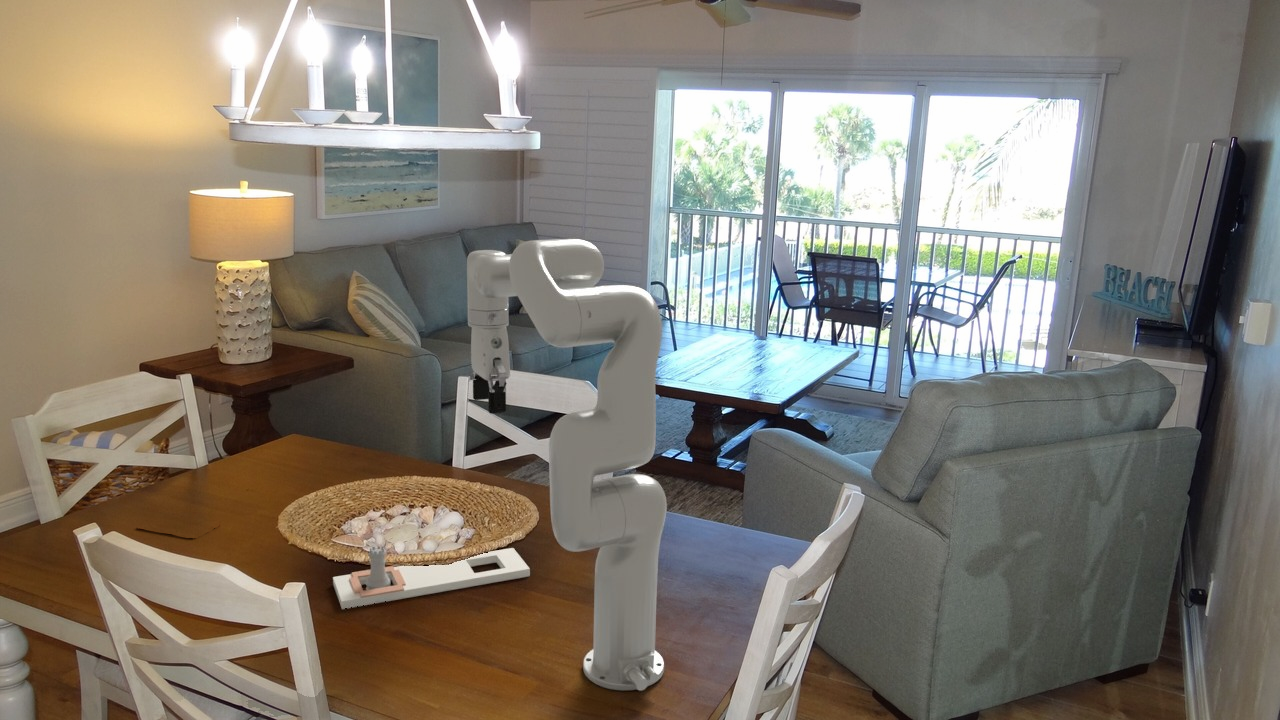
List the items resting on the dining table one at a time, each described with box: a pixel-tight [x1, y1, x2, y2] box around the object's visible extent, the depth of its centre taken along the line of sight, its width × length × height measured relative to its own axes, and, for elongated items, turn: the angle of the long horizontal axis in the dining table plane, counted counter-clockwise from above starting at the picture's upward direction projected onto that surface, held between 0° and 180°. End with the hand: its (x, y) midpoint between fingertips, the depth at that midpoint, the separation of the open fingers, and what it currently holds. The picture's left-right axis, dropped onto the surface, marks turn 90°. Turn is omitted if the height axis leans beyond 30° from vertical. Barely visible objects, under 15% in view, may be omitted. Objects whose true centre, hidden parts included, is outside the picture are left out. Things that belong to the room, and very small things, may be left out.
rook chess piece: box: [365, 545, 392, 590], centre depth 174 cm, size 4×4×8 cm
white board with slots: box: [332, 547, 531, 610], centre depth 179 cm, size 10×34×2 cm, turn 115°
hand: (489, 405), depth 185 cm, fingers open, 9 cm apart
